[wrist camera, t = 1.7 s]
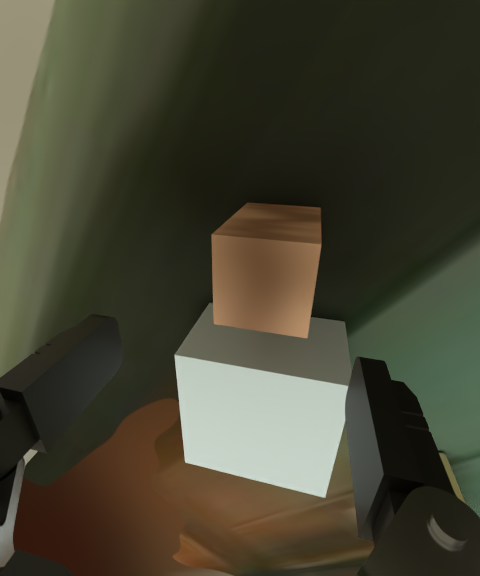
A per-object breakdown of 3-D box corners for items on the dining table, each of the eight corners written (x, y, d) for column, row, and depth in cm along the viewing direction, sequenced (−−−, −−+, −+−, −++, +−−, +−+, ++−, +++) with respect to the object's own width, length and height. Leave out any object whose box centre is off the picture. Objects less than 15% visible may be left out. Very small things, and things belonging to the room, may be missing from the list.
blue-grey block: (344, 321, 23) (353, 387, 17) (323, 419, 28) (324, 497, 22) (209, 302, 25) (174, 354, 19) (212, 397, 30) (185, 462, 24)
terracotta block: (320, 207, 20) (321, 244, 13) (311, 275, 22) (307, 338, 15) (247, 202, 21) (211, 234, 14) (245, 268, 23) (213, 324, 16)
